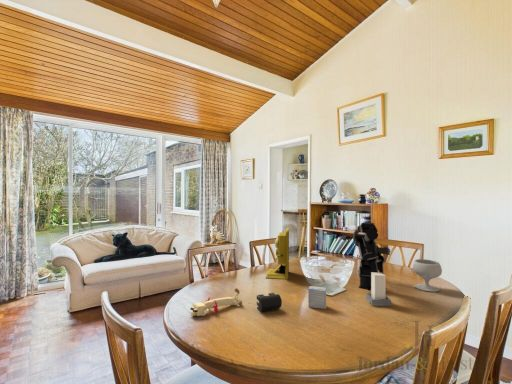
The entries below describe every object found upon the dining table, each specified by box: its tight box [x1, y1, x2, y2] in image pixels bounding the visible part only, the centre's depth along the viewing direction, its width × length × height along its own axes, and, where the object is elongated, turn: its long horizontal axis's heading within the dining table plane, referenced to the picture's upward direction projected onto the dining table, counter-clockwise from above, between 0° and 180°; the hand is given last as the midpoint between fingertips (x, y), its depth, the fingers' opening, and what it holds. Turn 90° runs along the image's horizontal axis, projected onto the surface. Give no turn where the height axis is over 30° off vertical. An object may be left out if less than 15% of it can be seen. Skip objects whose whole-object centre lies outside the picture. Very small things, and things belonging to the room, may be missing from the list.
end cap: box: [256, 292, 283, 313], centre depth 128 cm, size 10×7×7 cm
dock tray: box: [365, 292, 392, 308], centre depth 137 cm, size 9×9×3 cm
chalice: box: [412, 258, 443, 293], centre depth 157 cm, size 14×14×15 cm
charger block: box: [370, 271, 387, 299], centre depth 137 cm, size 5×5×13 cm
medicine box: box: [307, 285, 327, 310], centre depth 132 cm, size 8×4×9 cm, turn 71°
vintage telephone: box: [265, 227, 290, 281], centre depth 182 cm, size 31×14×30 cm, turn 172°
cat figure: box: [189, 287, 243, 317], centre depth 128 cm, size 10×9×25 cm
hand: (379, 274), depth 145 cm, fingers open, 9 cm apart
